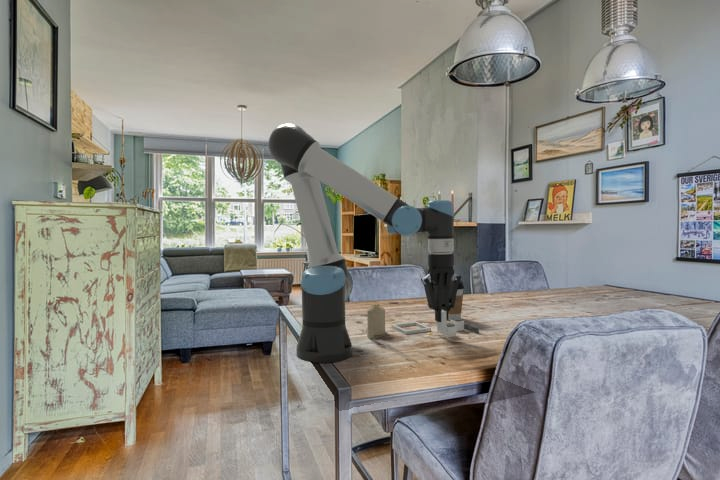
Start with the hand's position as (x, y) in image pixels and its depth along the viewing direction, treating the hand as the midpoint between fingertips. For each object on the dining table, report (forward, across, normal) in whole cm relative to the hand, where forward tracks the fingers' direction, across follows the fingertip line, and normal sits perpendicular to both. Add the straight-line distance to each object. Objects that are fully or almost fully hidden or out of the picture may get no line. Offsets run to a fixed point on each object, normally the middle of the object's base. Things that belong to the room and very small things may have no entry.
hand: (441, 332), depth 121 cm
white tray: (+3, +2, +7) cm, 8 cm away
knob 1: (+1, +3, 0) cm, 3 cm away
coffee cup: (+3, +17, +18) cm, 25 cm away
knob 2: (+2, +9, +5) cm, 10 cm away
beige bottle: (+3, -15, +13) cm, 20 cm away
